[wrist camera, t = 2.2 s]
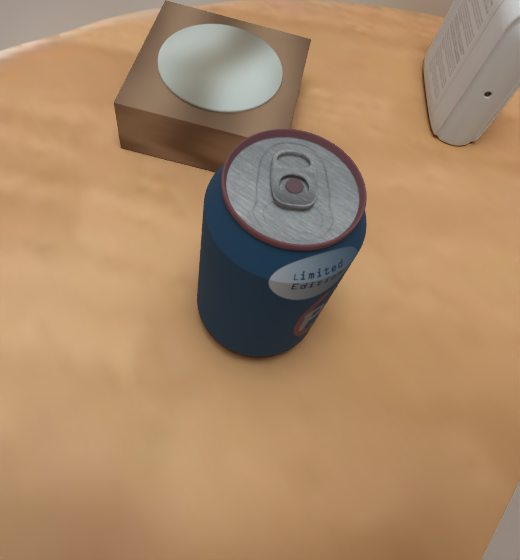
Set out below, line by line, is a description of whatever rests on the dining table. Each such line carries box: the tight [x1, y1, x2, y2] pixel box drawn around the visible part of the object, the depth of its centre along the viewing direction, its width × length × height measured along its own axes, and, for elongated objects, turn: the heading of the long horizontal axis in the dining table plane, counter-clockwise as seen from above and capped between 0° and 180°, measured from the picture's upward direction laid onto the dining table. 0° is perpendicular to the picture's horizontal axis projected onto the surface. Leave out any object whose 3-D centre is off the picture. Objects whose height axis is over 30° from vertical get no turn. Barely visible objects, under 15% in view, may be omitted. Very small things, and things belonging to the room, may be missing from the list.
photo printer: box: [423, 0, 520, 146], centre depth 35 cm, size 10×4×12 cm, turn 176°
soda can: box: [197, 129, 366, 357], centre depth 24 cm, size 7×7×12 cm
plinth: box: [114, 1, 311, 172], centre depth 34 cm, size 11×11×4 cm
